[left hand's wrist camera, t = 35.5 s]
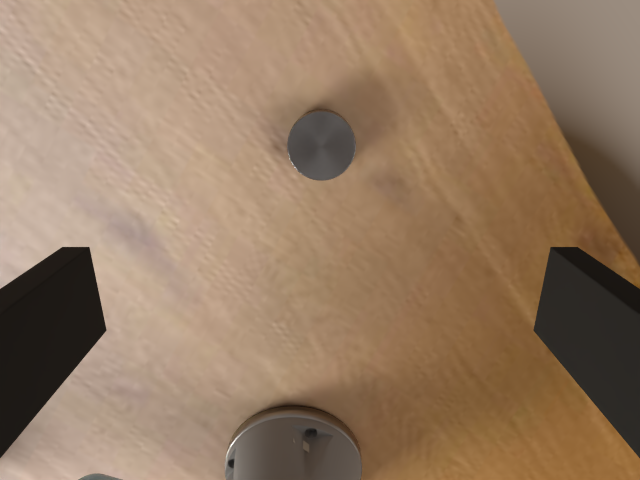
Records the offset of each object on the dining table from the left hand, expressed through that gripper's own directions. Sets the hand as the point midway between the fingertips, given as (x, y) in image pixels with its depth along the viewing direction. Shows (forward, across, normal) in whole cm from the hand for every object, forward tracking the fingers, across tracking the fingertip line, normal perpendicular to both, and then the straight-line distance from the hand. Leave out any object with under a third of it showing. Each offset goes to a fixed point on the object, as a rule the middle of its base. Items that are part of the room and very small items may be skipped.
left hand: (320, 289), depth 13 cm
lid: (+25, 0, 0) cm, 25 cm away
